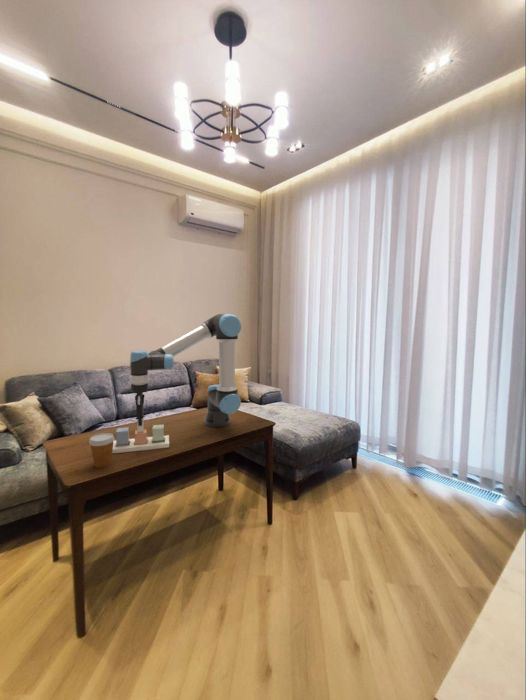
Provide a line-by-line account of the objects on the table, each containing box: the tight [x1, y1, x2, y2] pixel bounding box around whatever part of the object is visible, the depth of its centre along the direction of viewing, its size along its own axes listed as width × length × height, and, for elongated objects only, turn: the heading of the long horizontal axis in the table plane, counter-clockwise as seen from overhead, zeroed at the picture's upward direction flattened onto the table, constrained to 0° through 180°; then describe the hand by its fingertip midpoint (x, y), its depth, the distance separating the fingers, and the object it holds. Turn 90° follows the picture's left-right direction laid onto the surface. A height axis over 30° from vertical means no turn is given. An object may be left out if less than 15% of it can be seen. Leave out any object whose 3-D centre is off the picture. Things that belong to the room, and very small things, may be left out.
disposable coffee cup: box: [88, 432, 116, 469], centre depth 128 cm, size 10×10×12 cm
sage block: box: [152, 424, 165, 441], centre depth 149 cm, size 5×5×6 cm
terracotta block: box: [134, 428, 148, 445], centre depth 146 cm, size 5×5×6 cm
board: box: [112, 434, 170, 455], centre depth 147 cm, size 26×11×2 cm, turn 108°
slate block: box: [115, 427, 130, 445], centre depth 144 cm, size 5×5×6 cm
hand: (140, 431), depth 146 cm, fingers closed
